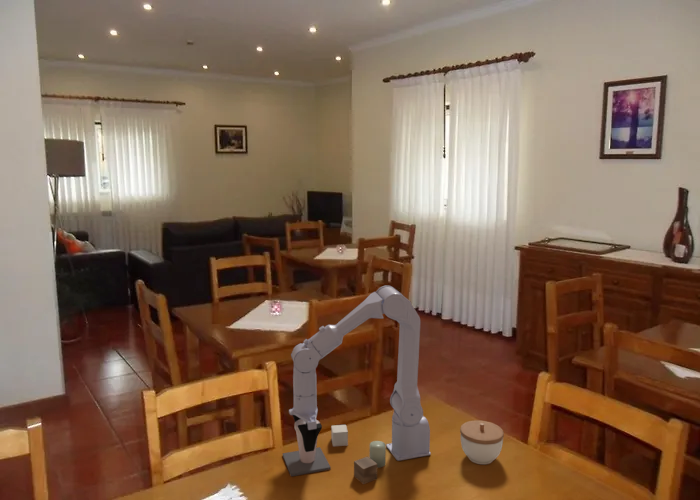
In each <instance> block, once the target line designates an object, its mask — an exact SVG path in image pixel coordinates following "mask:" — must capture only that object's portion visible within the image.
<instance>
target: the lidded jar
mask: <svg viewBox="0 0 700 500" xmlns="http://www.w3.org/2000/svg"><path fill="white" fill-rule="evenodd" d="M459 430H460V431H459V432H460V443H461V449H462V451H463V452H464V454H465V455H466V457H467V458H468V459H469V460H470V462H472V463H474V464H477V465H490V464H491V463H493V461H495V460H496V459H497V458H498V456H499V455H500V453H501V451H502V449H503V448H502V447H503V442H504V433H505V432H504V429H502V428H501V426H499V425H497V424H495V423H494V422H491V421H486V420H480V419H479V420H469V421H466V422H464V423H462V424H461V426H460V428H459Z"/></svg>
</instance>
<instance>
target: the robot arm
mask: <svg viewBox="0 0 700 500" xmlns="http://www.w3.org/2000/svg"><path fill="white" fill-rule="evenodd" d="M383 315H385V316H386V317H387V318H388V319H391V320H393V321H396V322H397V323H398V324H399V328H398V329H399V331H398V332H399V334H398V335H399V336H398V353H397V354H398V356H397V373H396V374H397V375H396V377H397V378H396V380H397V381H396V382H395V383H394V385H393V387H394V388H393V391H392V393H391V395H390V398H389V404H390V406H391V408H392V409H393V413H392V416H391V443H385V445H386V449H388V450H389V451H390V453H391V455H392V456H393V457H394V458H395V460H396V461H404V460H410V459H416V458H420V457H426V456H430V455H432V454H431V451H430V446H431V445H430V443H431V438H430V437H431V429H430V424H429V421H428V419H427V418H426V416H424V409H423V407H422V405H421V395H420V390H419V387H418V375H419V360H420V358H419V357H420V356H419V355H420V338H421V337H420V336H421V318H420V315H419V314H418V312H417V311H416V309H415V308H414V306H413V304H412V301H410V299H408V298H407V297H405V296H404V295H403V294H402V293H401V292H400V291H398V290H397V289H396V288H395V287H393V286H391V285H383V286H380V287H379V288H378V289H377V290H376V291H373V292H371V293H370V294H369V295H368V296H367V297H366V298H365V299H364V300H363V301H362V302H360V304H358V305H357V306H356V307H354V308H353V310H351V311H350V312H349V313H348V314H346V315H345V316H344V317H343V318H341V320H340V321H338V323H336V324H327V325H325V326H324V325H322V326H320V327H319V328H318V331H317V332H316V333H315V334H313V335H312V336H311V337H310V338H308V339H307V338H305V339H304V340H303V342H302V343H301V342H300V343H298V344H296V345H295V346H294V347H293V349H292V351H291V353H290V357H291V360H292V361H293V369H292V370H293V374H292V379H293V380H292V384H293V386H292V387H293V407H292V408H290V409H288V414H289V415H290V416H292V417H293V421H294V423H295V422H296V421H298V420H300V419H302V420H303V421H305V422H306V424H302V425H298V428H299V430H300V432H301V434H302V438H303V444H304V449H305V451H306V452H310V451H314V448H315V444H316V440H317V441H318V437H319V435H320V432H321V431H322V428H323V425H322V424H321V422H319V423H318V424H317V421H316V420H317V416H318V411H319V409H318V406H317V405H318V401H317V400H318V399H317V398H318V397H317V396H318V395H317V393H318V390H317V371H316V369H317V368H318V365H319V362H320V360H322V359H324V357H326V356H327V355H328V354H330V353H331V352H333V351H334V350H335V349H337V348H338V347H339V346H340V345H342V343H343V339H344V336H345V335H347V334H348V333H350V332H352V331H353V330H354V329H356V328H357V327H358V326H360V325H362V324H363V323H365V322H366V321H368V320H369V319H384V316H383Z"/></svg>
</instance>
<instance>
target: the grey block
mask: <svg viewBox="0 0 700 500" xmlns="http://www.w3.org/2000/svg"><path fill="white" fill-rule="evenodd" d="M330 429H331V430H330V431H331V434H330V435H331V443H332V447H342V446H344V447H345V446H349V431H348V427H347V425H346V424H336V425H331V427H330Z"/></svg>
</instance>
